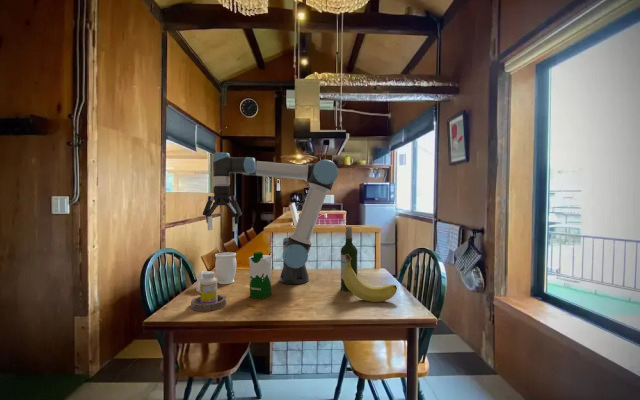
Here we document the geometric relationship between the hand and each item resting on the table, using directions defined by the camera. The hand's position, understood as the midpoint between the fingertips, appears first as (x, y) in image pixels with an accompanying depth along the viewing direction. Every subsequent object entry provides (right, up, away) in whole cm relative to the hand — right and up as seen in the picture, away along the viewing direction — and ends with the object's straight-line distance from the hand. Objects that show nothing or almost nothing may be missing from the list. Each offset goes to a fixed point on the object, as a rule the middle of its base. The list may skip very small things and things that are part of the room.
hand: (222, 230), depth 153 cm
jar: (-3, -29, +15) cm, 32 cm away
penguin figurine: (-10, -29, +2) cm, 31 cm away
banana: (+68, -29, -15) cm, 75 cm away
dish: (0, -29, -19) cm, 35 cm away
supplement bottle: (0, -29, -19) cm, 34 cm away
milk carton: (+20, -29, -8) cm, 36 cm away
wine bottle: (+60, -29, +2) cm, 67 cm away
